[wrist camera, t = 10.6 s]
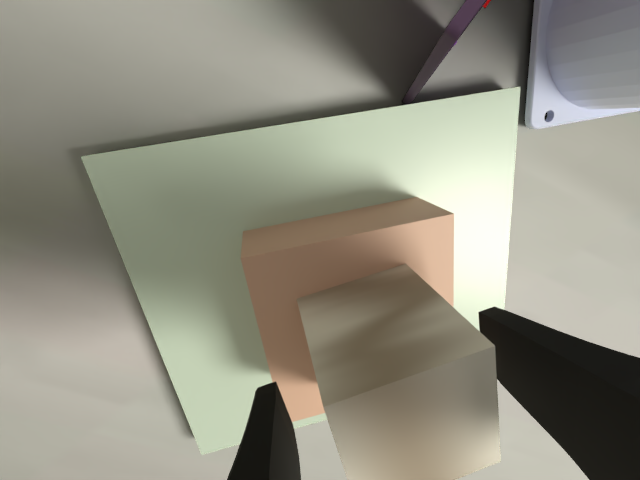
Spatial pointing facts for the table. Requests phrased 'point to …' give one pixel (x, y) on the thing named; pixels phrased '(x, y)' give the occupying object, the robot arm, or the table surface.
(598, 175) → the table surface
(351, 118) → the base plate
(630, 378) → the robot arm
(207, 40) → the table surface
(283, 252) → the base brick
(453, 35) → the purple and pink piece
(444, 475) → the top brick
